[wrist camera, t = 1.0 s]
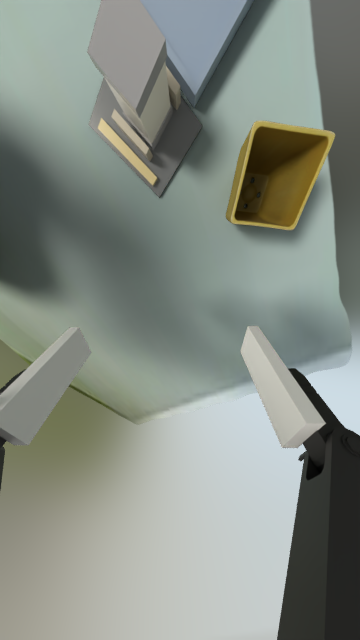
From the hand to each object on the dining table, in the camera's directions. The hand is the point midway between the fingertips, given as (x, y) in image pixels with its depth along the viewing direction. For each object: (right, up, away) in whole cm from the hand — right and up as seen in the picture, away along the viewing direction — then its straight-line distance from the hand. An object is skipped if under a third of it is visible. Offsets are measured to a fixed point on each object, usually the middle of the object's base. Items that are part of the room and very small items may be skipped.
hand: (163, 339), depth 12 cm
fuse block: (-3, +29, +9) cm, 30 cm away
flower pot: (+13, +23, +13) cm, 29 cm away
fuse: (-3, +29, +8) cm, 30 cm away
